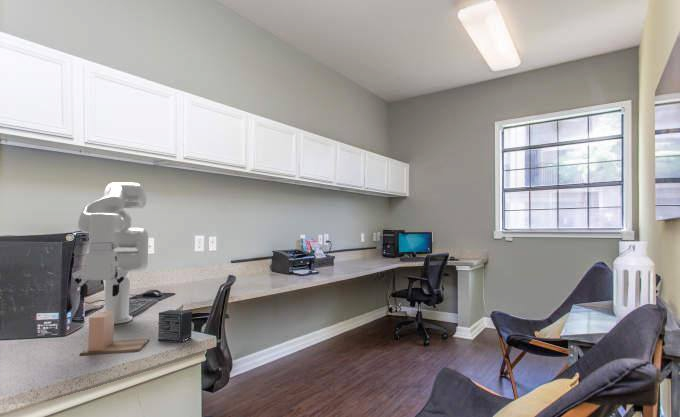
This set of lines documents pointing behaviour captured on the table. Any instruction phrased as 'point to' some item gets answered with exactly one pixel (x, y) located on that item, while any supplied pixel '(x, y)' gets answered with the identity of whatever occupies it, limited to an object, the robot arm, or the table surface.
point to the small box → (174, 325)
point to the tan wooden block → (101, 330)
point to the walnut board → (119, 347)
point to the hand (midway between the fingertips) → (99, 296)
